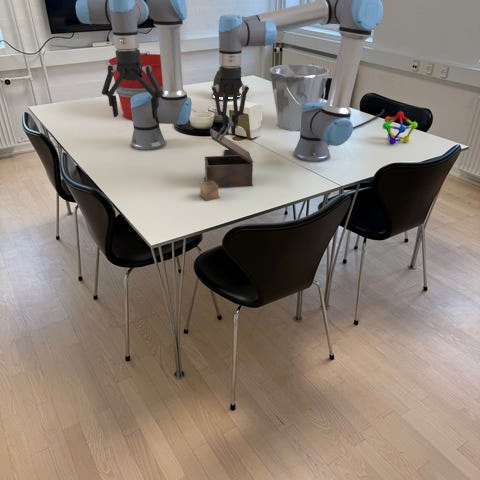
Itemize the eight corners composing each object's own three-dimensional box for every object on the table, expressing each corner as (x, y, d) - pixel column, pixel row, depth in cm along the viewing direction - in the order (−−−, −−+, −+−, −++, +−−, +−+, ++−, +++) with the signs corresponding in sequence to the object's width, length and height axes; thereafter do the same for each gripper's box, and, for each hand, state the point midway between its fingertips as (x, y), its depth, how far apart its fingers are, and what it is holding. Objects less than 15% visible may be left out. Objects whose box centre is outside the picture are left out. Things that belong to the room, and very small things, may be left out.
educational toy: (377, 146, 209) (379, 114, 202) (384, 138, 219) (386, 107, 211) (411, 149, 202) (415, 116, 195) (417, 141, 212) (420, 109, 204)
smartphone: (222, 162, 187) (224, 149, 200) (222, 163, 188) (224, 150, 200) (240, 162, 187) (240, 149, 200) (240, 163, 188) (240, 151, 200)
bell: (227, 105, 294) (202, 96, 282) (238, 66, 289) (213, 55, 277) (243, 108, 280) (217, 98, 268) (255, 66, 275) (229, 55, 263)
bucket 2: (296, 138, 215) (301, 78, 201) (255, 124, 234) (256, 68, 219) (335, 125, 232) (342, 70, 217) (294, 113, 251) (297, 61, 236)
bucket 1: (122, 105, 264) (115, 51, 248) (181, 105, 263) (177, 51, 248) (106, 122, 235) (96, 62, 219) (171, 123, 234) (167, 63, 218)
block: (206, 200, 159) (205, 188, 156) (200, 195, 162) (199, 182, 160) (218, 197, 161) (218, 185, 158) (212, 192, 164) (212, 180, 162)
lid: (211, 139, 157) (225, 118, 154) (209, 130, 166) (222, 110, 163) (251, 163, 165) (265, 145, 161) (247, 154, 173) (260, 136, 170)
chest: (207, 188, 167) (206, 166, 163) (205, 177, 176) (204, 156, 171) (252, 185, 169) (252, 164, 165) (248, 175, 178) (248, 154, 173)
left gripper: (84, 50, 136) (95, 118, 148) (163, 52, 134) (168, 121, 145) (93, 46, 143) (104, 112, 154) (169, 48, 140) (174, 114, 152)
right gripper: (209, 68, 146) (210, 137, 158) (253, 67, 148) (251, 136, 160) (207, 64, 152) (209, 131, 165) (250, 63, 154) (248, 129, 167)
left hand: (135, 116), depth 150 cm, fingers open, 13 cm apart
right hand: (230, 133), depth 162 cm, fingers closed on lid, 2 cm apart
